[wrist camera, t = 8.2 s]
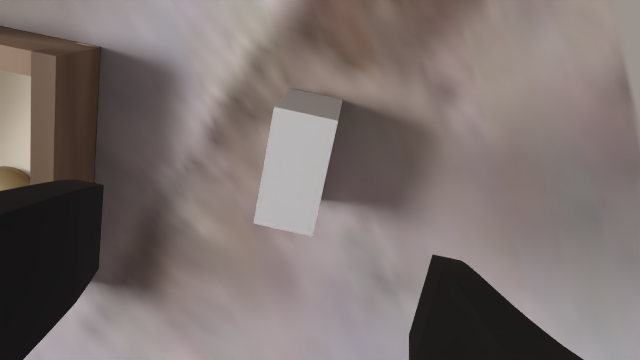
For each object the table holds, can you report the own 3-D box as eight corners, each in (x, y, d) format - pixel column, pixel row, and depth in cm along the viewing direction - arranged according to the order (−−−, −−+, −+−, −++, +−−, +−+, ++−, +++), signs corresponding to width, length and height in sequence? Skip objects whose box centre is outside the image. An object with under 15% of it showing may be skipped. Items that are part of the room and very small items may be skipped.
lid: (489, 27, 19) (519, 36, 15) (409, 292, 23) (417, 352, 19) (185, -39, 19) (141, -46, 15) (155, 235, 23) (113, 283, 19)
